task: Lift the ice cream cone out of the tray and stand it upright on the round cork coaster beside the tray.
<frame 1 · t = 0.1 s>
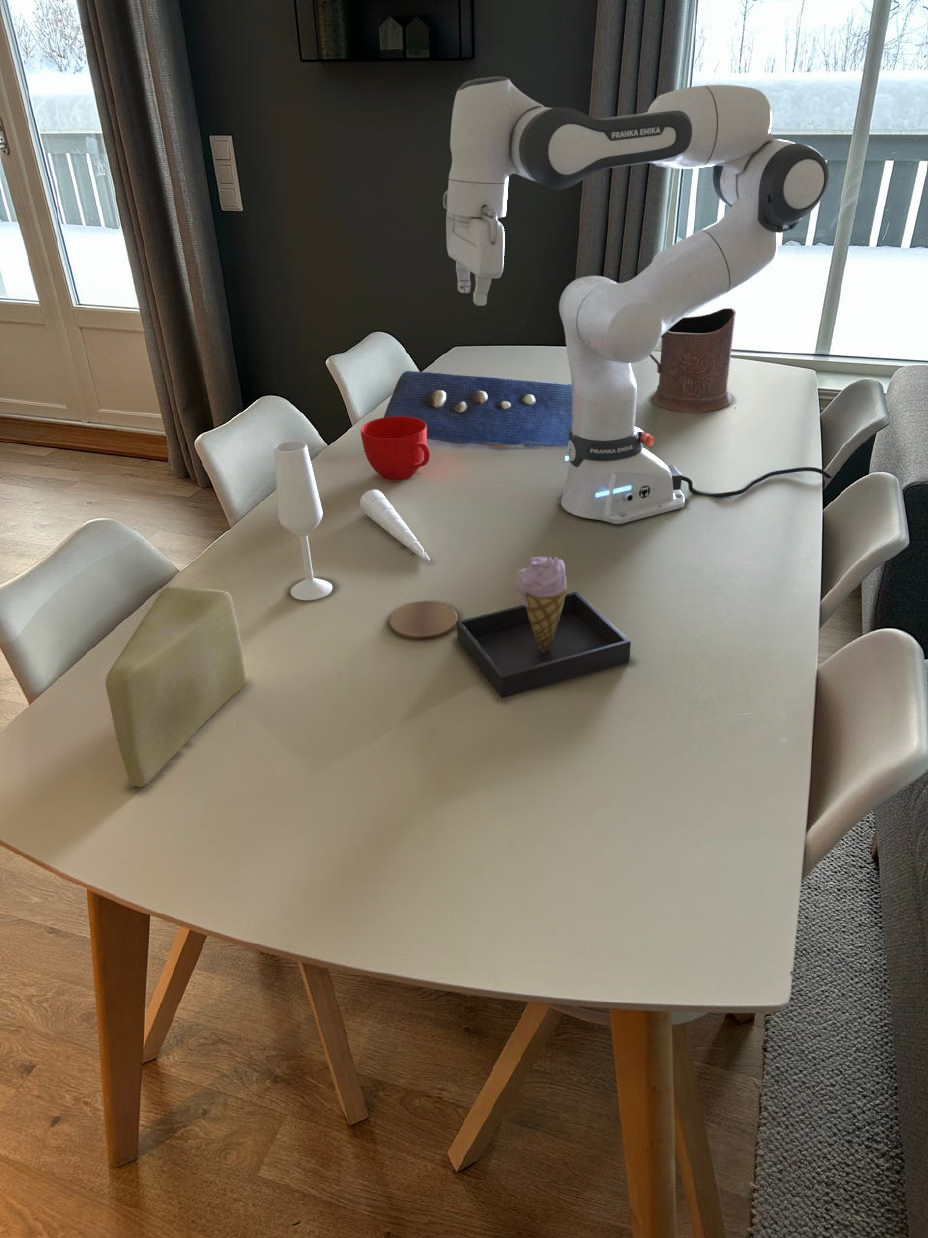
hand: (471, 298, 142), 39 cm above the table, tool pointing down, fingers open, 8 cm apart
coaster: (423, 621, 135), on the table
ice cream cone: (541, 650, 126), resting on tray
cup holder: (679, 399, 216), on the table
ceramic cup: (403, 478, 182), on the table
tray: (541, 651, 127), on the table
champagne flute: (311, 590, 144), on the table
unicorn horn: (398, 535, 160), on the table
cheese: (181, 731, 115), on the table
mat: (489, 425, 206), on the table
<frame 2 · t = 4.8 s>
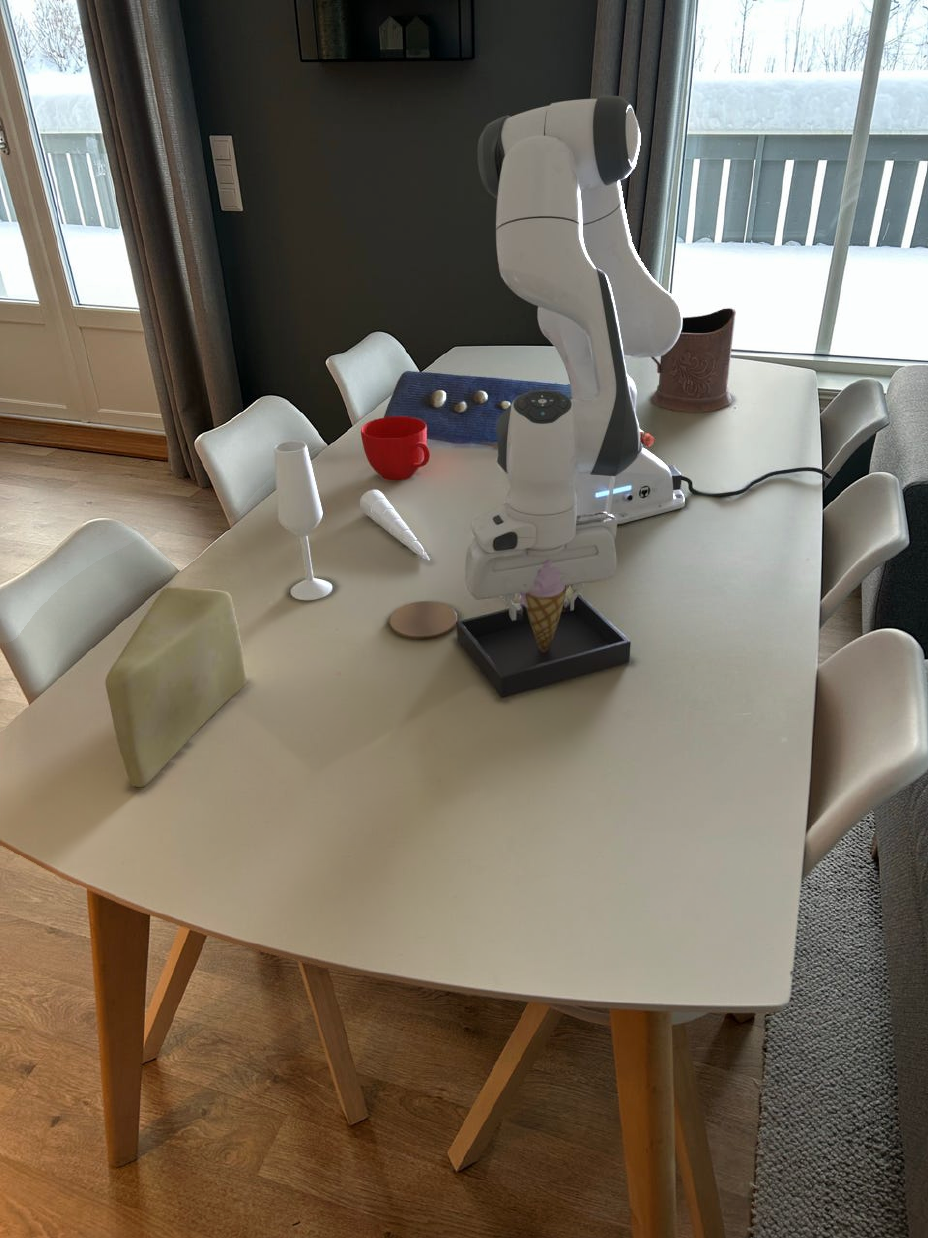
hand: (541, 613, 123), 6 cm above the table, tool pointing down, fingers closed on ice cream cone, 6 cm apart
ice cream cone: (541, 650, 126), resting on tray, touching gripper
everything else where it was.
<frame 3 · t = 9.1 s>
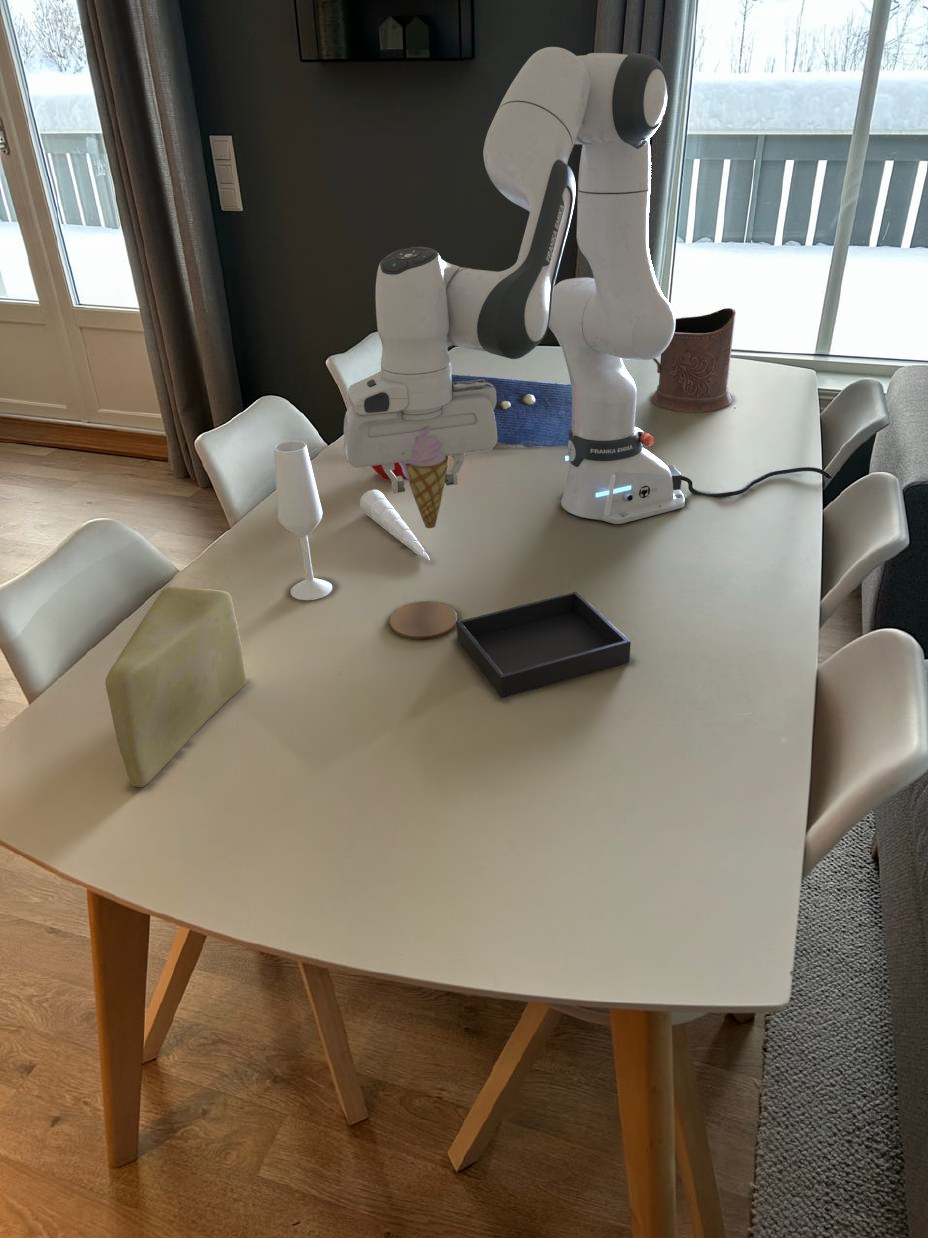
hand: (424, 487, 123), 22 cm above the table, tool pointing down, fingers closed on ice cream cone, 6 cm apart
ice cream cone: (427, 527, 126), point 16 cm above the table, touching gripper
everything else where it was.
when the fingers open (6 cm above the table, at t = 13.7 s): ice cream cone stays where it is, resting on coaster.
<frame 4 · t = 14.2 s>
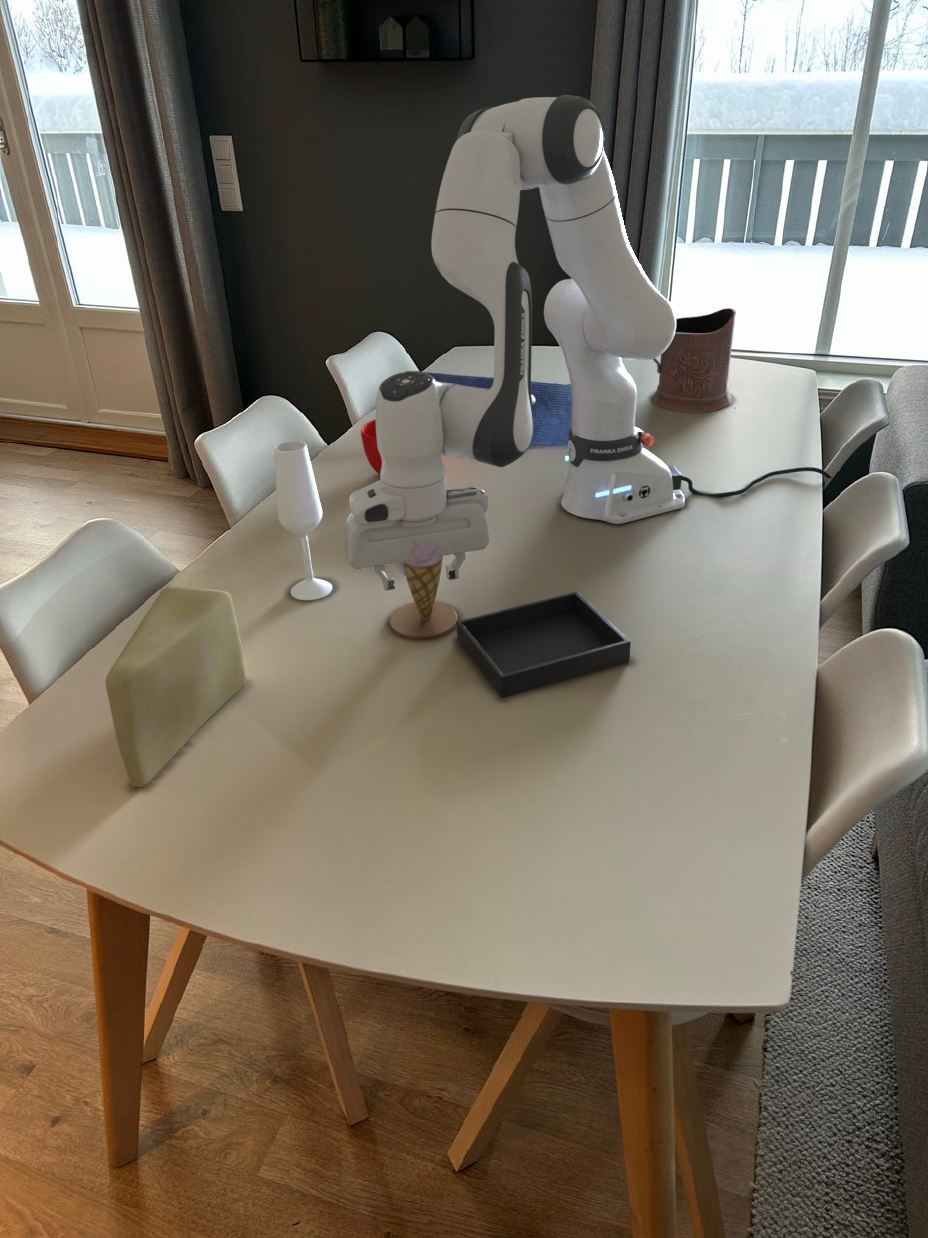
hand: (421, 583, 131), 6 cm above the table, tool pointing down, fingers open, 8 cm apart
ice cream cone: (423, 619, 135), resting on coaster
everything else where it was.
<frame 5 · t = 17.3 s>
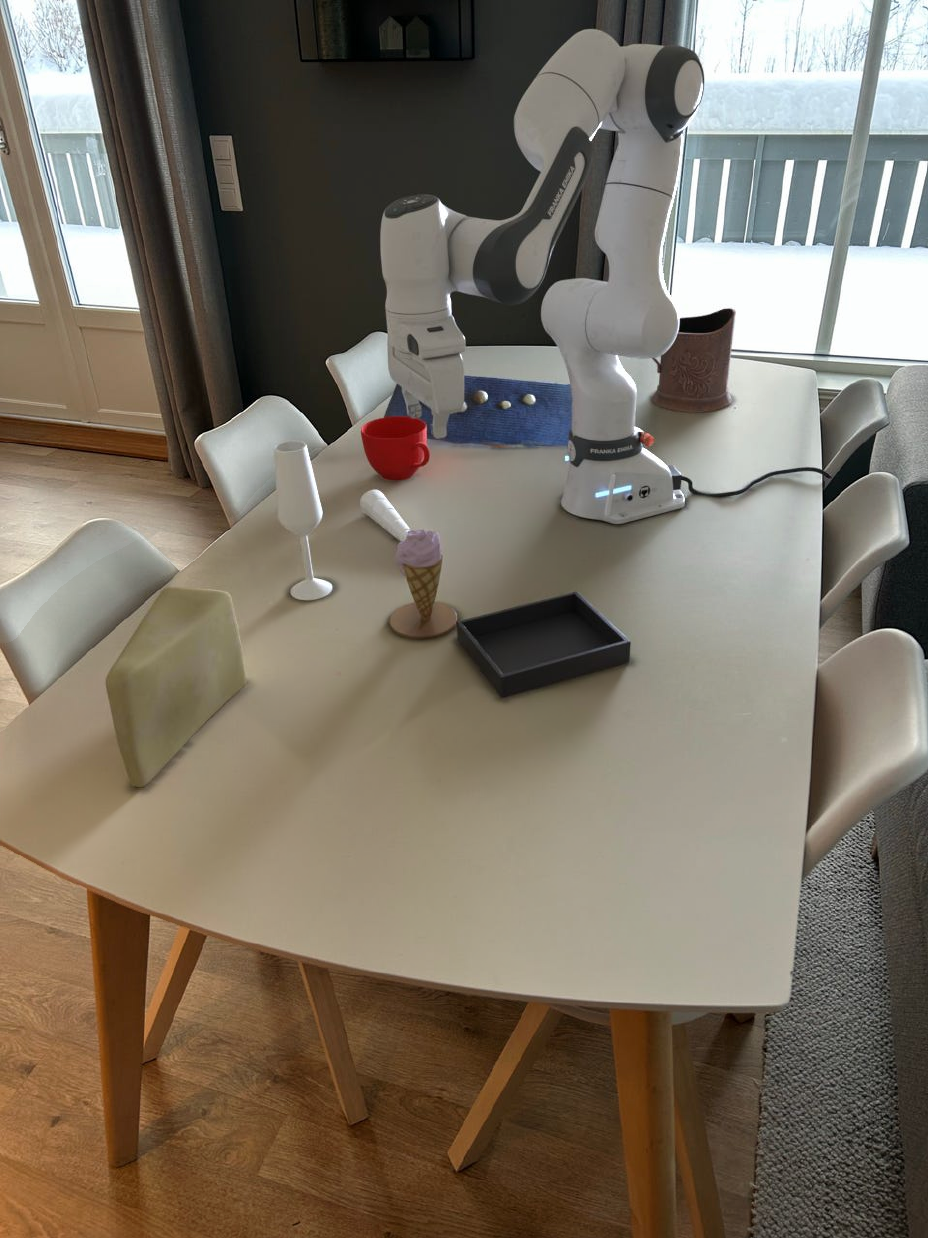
hand: (426, 426, 130), 26 cm above the table, tool pointing down, fingers open, 8 cm apart
nothing on the table moved.
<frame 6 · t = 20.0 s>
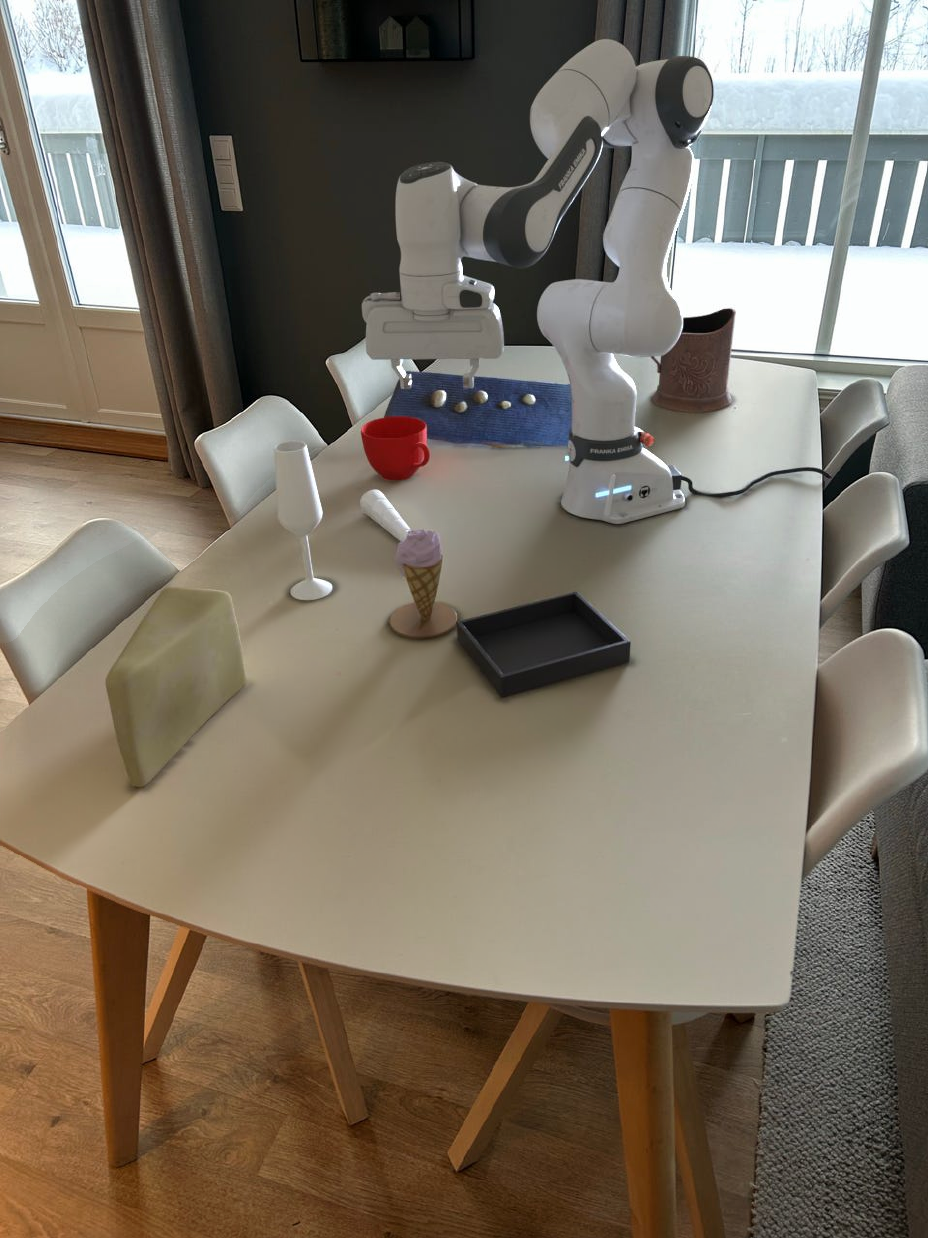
hand: (437, 387, 136), 29 cm above the table, tool pointing down, fingers open, 8 cm apart
nothing on the table moved.
at the end: ice cream cone inside the target area on the coaster (0.1 cm from its centre), point 0.3 cm above the coaster's base; ice cream cone tilted 0°; the gripper is holding nothing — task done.
